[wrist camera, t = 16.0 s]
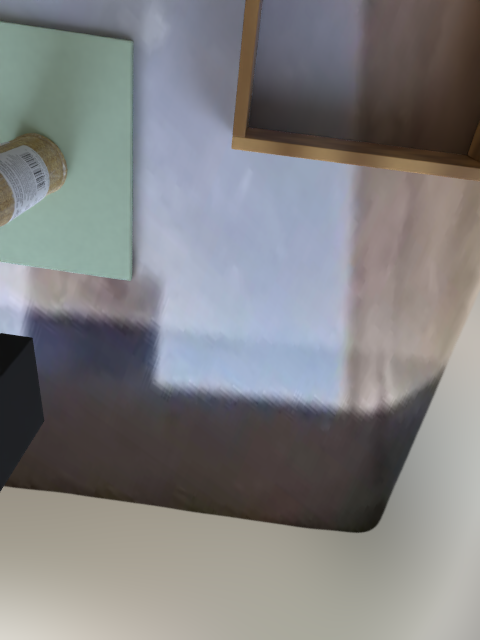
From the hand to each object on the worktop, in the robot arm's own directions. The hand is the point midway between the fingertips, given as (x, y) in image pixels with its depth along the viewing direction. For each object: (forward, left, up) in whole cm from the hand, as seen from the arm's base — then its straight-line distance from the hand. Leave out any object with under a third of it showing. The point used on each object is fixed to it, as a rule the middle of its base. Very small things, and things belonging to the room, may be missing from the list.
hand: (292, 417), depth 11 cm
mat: (+14, -12, -27) cm, 33 cm away
